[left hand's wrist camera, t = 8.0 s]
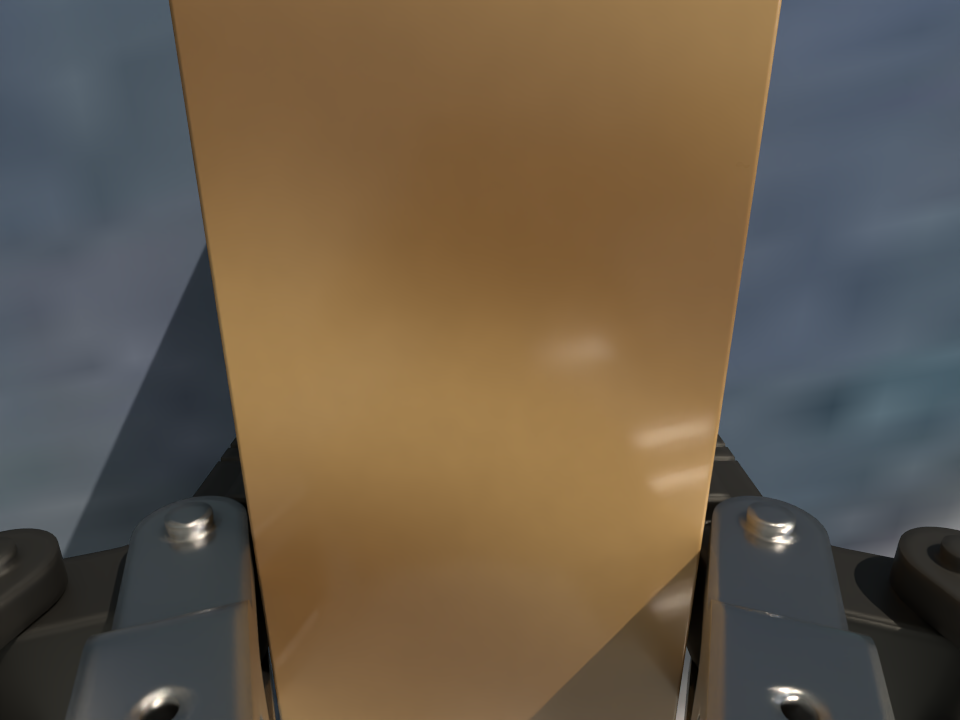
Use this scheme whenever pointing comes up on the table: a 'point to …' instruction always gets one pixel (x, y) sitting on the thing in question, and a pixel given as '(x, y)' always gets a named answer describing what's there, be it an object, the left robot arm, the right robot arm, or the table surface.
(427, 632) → the post
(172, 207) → the table surface
